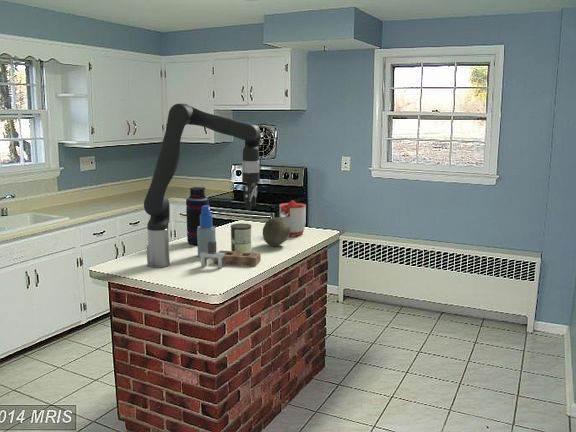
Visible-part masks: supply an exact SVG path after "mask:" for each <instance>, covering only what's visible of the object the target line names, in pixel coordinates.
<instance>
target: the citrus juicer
mask: <svg viewBox="0 0 576 432" xmlns="http://www.w3.org/2000/svg"><path fill="white" fill-rule="evenodd" d="M306 210H307V205H306V203H302V202H301V203H299V202H296V201H295V200H294V199H292V200H291V201H289V202H286V203H280V204H279V218H282V219H284V220H285V221H286V222H287V223H288V224H289V227H290V234H289V236H291V237H296V236H302V235H303V233H304V231H305V227H306V223H307V221H306V218H307V217H306V216H307V211H306Z"/></svg>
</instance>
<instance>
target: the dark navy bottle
mask: <svg viewBox="0 0 576 432" xmlns="http://www.w3.org/2000/svg"><path fill="white" fill-rule="evenodd" d="M206 192H207V194H208V196H207V195H206ZM189 193H190V195H189V197H187V198H185V205H186V207H185V208H186V209H185V213H186V232H187V233H186V234H187V236H186V239H187V243H188V245H191V244H197V227H198V226H200V214H201V211H202V206H204V205H209V206H210V201H209V196H210V193H209V191H208V190H207V189H206V187H204V186H203V187H202V186H201V187H200V186H192V187H190V188H189ZM197 245H198V244H197Z"/></svg>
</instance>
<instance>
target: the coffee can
mask: <svg viewBox="0 0 576 432" xmlns="http://www.w3.org/2000/svg"><path fill="white" fill-rule="evenodd" d="M230 243H231V244H230V247H231V248H230V251H237V252H252V225H251V224H249V223H243V222H242V223H233V224H231V225H230Z"/></svg>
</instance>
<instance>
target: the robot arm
mask: <svg viewBox="0 0 576 432" xmlns="http://www.w3.org/2000/svg"><path fill="white" fill-rule="evenodd" d="M188 125H190V126H199V127H203V128H206V129H209V130H212V131H213V132H216V133H219V134H223V135H227V136H231V137H234V138H237V139H239V140H242V141H244V147H243V148H242V164H241V181H242V183H246V185H245V186H243V201H244V202H245V210H246V211H250V210H251V209H252V207H256V205H257V196H258V183H259V182H260V149H259V148H260V144H261V129H260V127H259V126H258V125H257V124H254V123H251V124H250V123H244V122H240V121H238V120H236V119H233V118H229V117H224V116H223V115H222V116H221V115H216V114H213V113H208V112H205V111H202V110H200V109H198V108H195V107H194V106H191V105H189V104H186V103H175V104H174V105H172V106H171V107H170V108H169V111H168V115H167V121H166V126H165V132H164V136H163V139H162V141H161V146H160V148H159V149H160V150H159V153H158V155H157V160H156V163H155V167H154V170H153V175H152V179H151V181H150V182H151V183H150V185H149V188H148V191H147V193H146V195H145V198H144V202H143V208H144V211H145V213H146V214H147V215H149V216H150V217H149V220H148V222H147V224H146V225H147V229H146V230H147V243H148V245H146V260H147V261H146V262H147V263H146V265H147V267H151V268H165V267H166V268H167V267H168V266H170V264H171V262H170V243H169V242H170V239H169V238H170V237H169V223H170V214H171V213H170V211H171V210H170V201H169V198H168V197H167V195H165V194H166V190H167V189H168V186H169V184H170V183H171V181H172V180H173V178H174V176H175V174H176V172H177V169H178V167H179V166H178V165H179V164H180V160H181V159H180V158H181V140H182V135H183V132H184V129H185V126H188Z"/></svg>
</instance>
